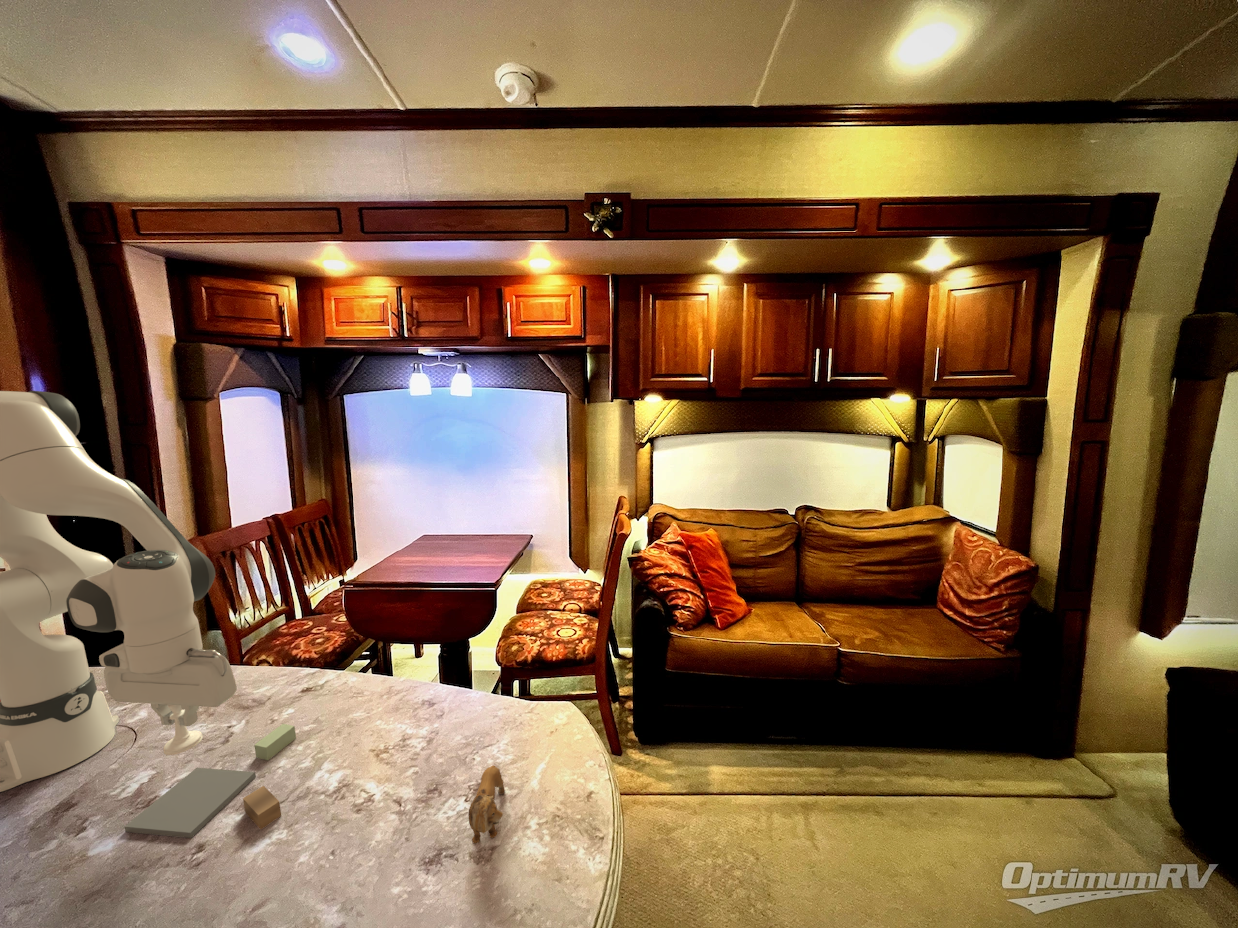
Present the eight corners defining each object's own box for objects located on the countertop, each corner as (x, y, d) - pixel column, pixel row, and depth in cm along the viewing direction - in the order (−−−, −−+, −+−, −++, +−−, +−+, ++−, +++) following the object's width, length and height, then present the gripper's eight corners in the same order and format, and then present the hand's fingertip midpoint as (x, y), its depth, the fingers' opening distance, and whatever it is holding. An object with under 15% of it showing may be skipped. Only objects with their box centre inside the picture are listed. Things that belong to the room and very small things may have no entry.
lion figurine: (505, 857, 71) (502, 807, 70) (469, 866, 70) (464, 814, 69) (505, 780, 85) (502, 736, 84) (475, 786, 84) (472, 742, 83)
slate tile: (125, 831, 76) (124, 826, 76) (197, 771, 88) (196, 767, 88) (191, 837, 75) (190, 832, 75) (255, 776, 87) (255, 771, 87)
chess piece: (179, 756, 77) (169, 702, 75) (155, 753, 78) (144, 699, 76) (210, 735, 81) (201, 683, 80) (187, 732, 82) (177, 680, 81)
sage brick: (268, 761, 91) (266, 747, 90) (256, 758, 91) (254, 744, 91) (296, 738, 96) (294, 725, 96) (284, 736, 97) (282, 723, 97)
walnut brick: (245, 813, 79) (242, 798, 79) (265, 800, 82) (263, 785, 81) (260, 830, 76) (258, 814, 76) (281, 816, 79) (279, 801, 78)
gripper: (240, 640, 79) (252, 713, 81) (133, 635, 81) (147, 707, 83) (204, 661, 72) (218, 740, 75) (88, 656, 75) (105, 733, 77)
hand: (180, 723), depth 79 cm, fingers closed on chess piece
